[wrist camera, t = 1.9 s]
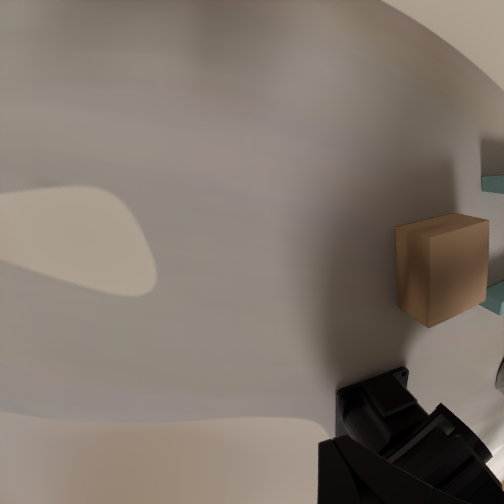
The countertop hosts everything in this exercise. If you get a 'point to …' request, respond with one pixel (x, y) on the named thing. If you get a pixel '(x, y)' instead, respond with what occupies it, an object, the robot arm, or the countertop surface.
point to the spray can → (500, 380)
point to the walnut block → (442, 266)
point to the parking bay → (500, 295)
